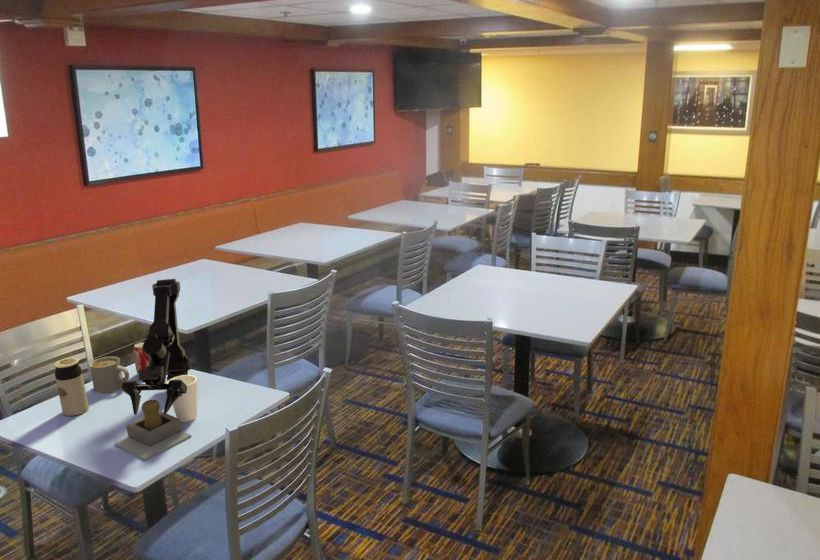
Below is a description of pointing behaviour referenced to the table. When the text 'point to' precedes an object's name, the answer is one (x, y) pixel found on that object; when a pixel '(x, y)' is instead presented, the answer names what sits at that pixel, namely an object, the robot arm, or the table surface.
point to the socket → (152, 437)
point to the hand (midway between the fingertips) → (149, 414)
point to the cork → (152, 414)
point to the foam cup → (186, 399)
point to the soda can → (140, 357)
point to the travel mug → (71, 386)
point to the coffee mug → (107, 374)
